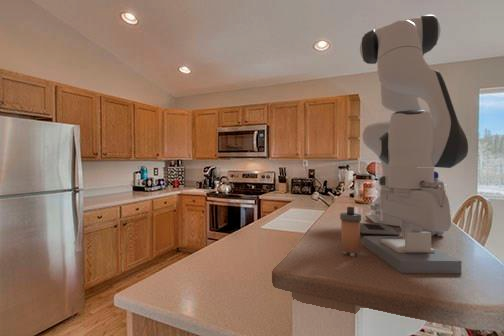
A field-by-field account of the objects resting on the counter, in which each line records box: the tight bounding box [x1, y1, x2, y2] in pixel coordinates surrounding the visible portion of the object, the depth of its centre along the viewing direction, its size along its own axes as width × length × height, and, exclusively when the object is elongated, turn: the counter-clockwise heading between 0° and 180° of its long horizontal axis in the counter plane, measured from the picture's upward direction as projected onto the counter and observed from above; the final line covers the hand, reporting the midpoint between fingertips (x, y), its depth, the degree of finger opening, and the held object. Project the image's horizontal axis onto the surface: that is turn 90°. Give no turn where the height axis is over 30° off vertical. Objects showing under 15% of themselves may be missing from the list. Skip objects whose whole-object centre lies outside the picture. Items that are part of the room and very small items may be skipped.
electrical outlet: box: [360, 222, 401, 236], centre depth 81 cm, size 13×10×2 cm
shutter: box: [380, 231, 435, 253], centre depth 59 cm, size 9×8×5 cm
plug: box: [339, 206, 362, 258], centre depth 62 cm, size 5×5×12 cm
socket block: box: [362, 235, 462, 274], centre depth 59 cm, size 18×12×2 cm, turn 179°
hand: (410, 241), depth 57 cm, fingers closed
